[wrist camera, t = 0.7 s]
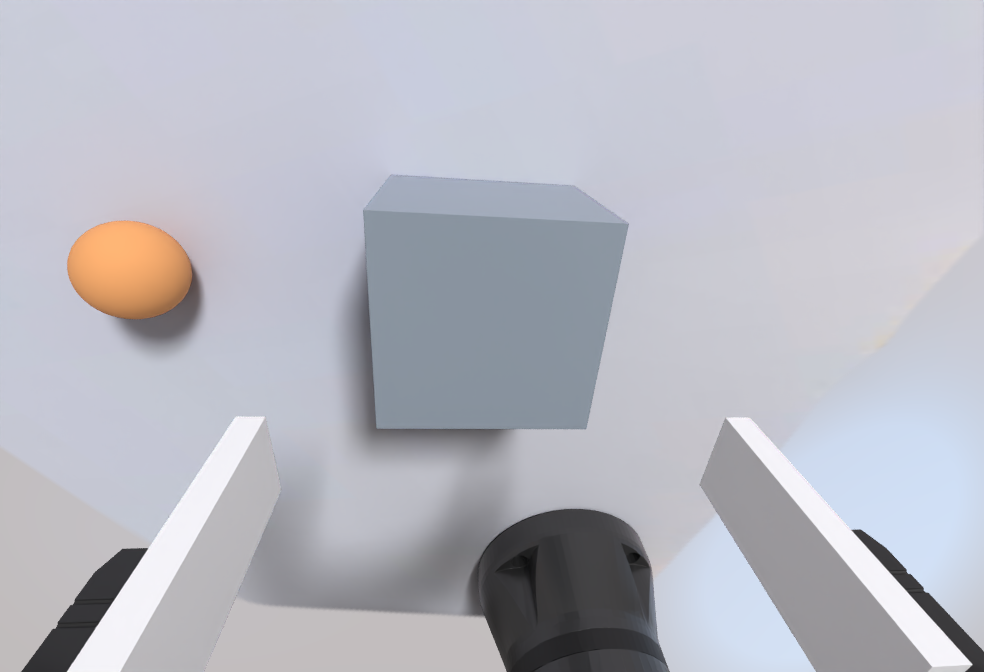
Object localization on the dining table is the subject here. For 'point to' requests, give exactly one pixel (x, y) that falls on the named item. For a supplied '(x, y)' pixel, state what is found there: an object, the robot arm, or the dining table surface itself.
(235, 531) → the robot arm
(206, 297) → the dining table surface
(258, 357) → the dining table surface
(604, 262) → the matte gray-blue box
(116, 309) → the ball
